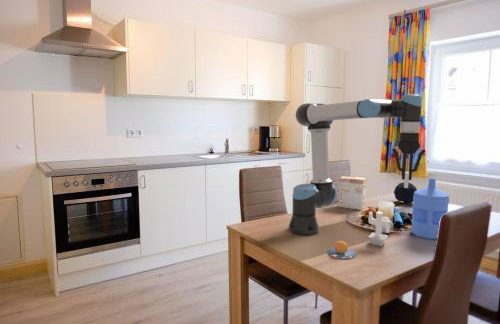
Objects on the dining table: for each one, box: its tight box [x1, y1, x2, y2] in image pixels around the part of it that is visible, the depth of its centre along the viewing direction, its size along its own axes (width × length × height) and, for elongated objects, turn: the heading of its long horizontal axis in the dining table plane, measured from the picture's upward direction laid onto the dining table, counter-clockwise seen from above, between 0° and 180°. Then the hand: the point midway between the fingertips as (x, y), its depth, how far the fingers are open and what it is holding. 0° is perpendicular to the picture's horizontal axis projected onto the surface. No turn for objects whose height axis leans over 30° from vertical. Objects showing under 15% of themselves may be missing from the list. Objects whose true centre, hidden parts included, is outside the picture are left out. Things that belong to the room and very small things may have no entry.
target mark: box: [327, 247, 357, 260], centre depth 150 cm, size 12×12×1 cm
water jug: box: [410, 178, 450, 240], centre depth 173 cm, size 16×16×28 cm
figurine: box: [368, 211, 391, 247], centre depth 161 cm, size 7×9×15 cm
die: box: [373, 216, 394, 234], centre depth 177 cm, size 8×9×10 cm
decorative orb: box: [393, 182, 417, 205], centre depth 236 cm, size 14×15×15 cm
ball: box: [334, 240, 349, 254], centre depth 150 cm, size 6×6×6 cm
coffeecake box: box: [338, 175, 367, 211], centre depth 223 cm, size 15×7×20 cm, turn 58°
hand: (405, 187), depth 150 cm, fingers closed
